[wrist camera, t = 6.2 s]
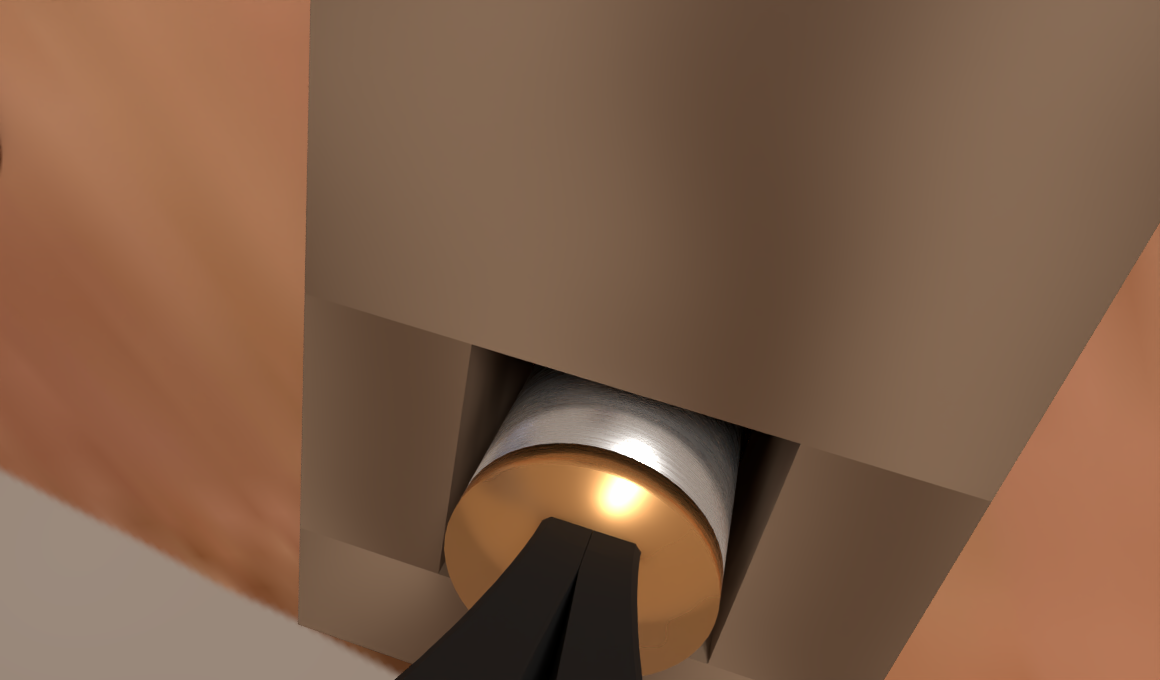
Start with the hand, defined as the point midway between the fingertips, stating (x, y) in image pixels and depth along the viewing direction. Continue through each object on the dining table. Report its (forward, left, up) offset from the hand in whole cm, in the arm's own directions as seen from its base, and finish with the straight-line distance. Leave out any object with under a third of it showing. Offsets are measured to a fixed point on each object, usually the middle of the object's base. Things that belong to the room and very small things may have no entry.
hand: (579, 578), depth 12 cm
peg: (0, 0, -4) cm, 4 cm away
